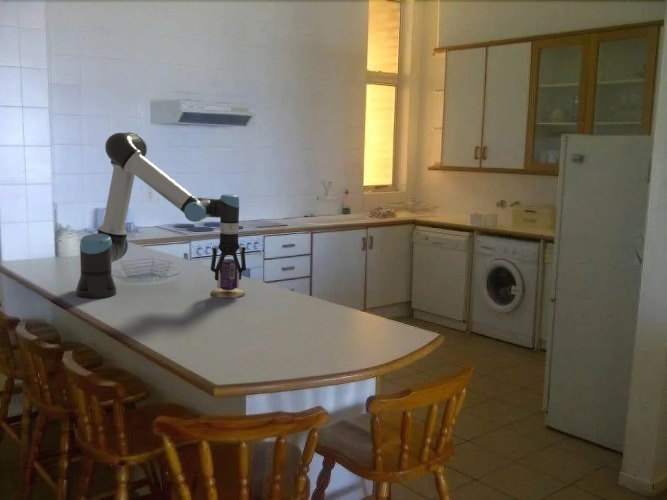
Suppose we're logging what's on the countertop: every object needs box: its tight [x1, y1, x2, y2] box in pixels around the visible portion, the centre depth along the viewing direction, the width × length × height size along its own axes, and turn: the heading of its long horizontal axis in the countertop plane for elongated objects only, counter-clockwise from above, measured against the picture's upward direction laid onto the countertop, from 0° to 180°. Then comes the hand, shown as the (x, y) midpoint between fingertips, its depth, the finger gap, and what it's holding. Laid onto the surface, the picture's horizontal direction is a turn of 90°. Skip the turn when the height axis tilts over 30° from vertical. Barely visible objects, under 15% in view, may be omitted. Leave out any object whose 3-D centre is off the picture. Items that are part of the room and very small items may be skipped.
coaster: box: [210, 288, 246, 299], centre depth 287 cm, size 14×14×1 cm
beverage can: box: [219, 258, 238, 290], centre depth 285 cm, size 7×7×12 cm
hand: (227, 287), depth 286 cm, fingers closed on beverage can, 7 cm apart
